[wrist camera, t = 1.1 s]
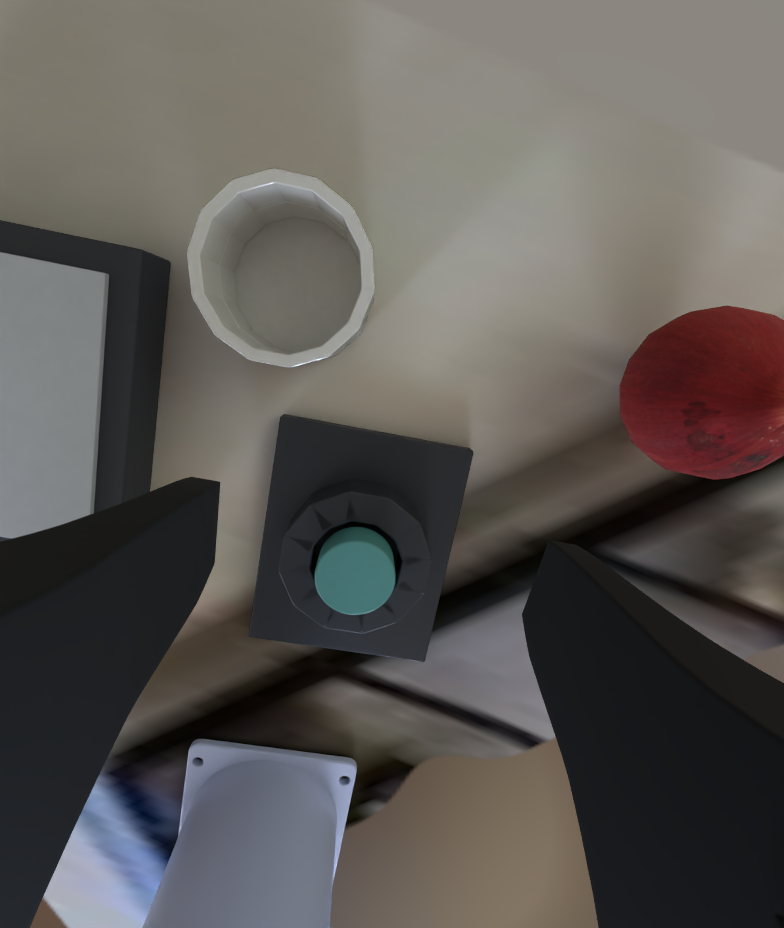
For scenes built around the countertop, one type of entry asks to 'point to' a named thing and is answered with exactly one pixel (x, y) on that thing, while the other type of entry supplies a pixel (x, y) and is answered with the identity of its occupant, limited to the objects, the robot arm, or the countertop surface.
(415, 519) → the pad
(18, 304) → the scale
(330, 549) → the button
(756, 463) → the onion
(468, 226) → the countertop surface
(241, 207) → the cup
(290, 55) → the countertop surface
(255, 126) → the countertop surface
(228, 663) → the countertop surface
